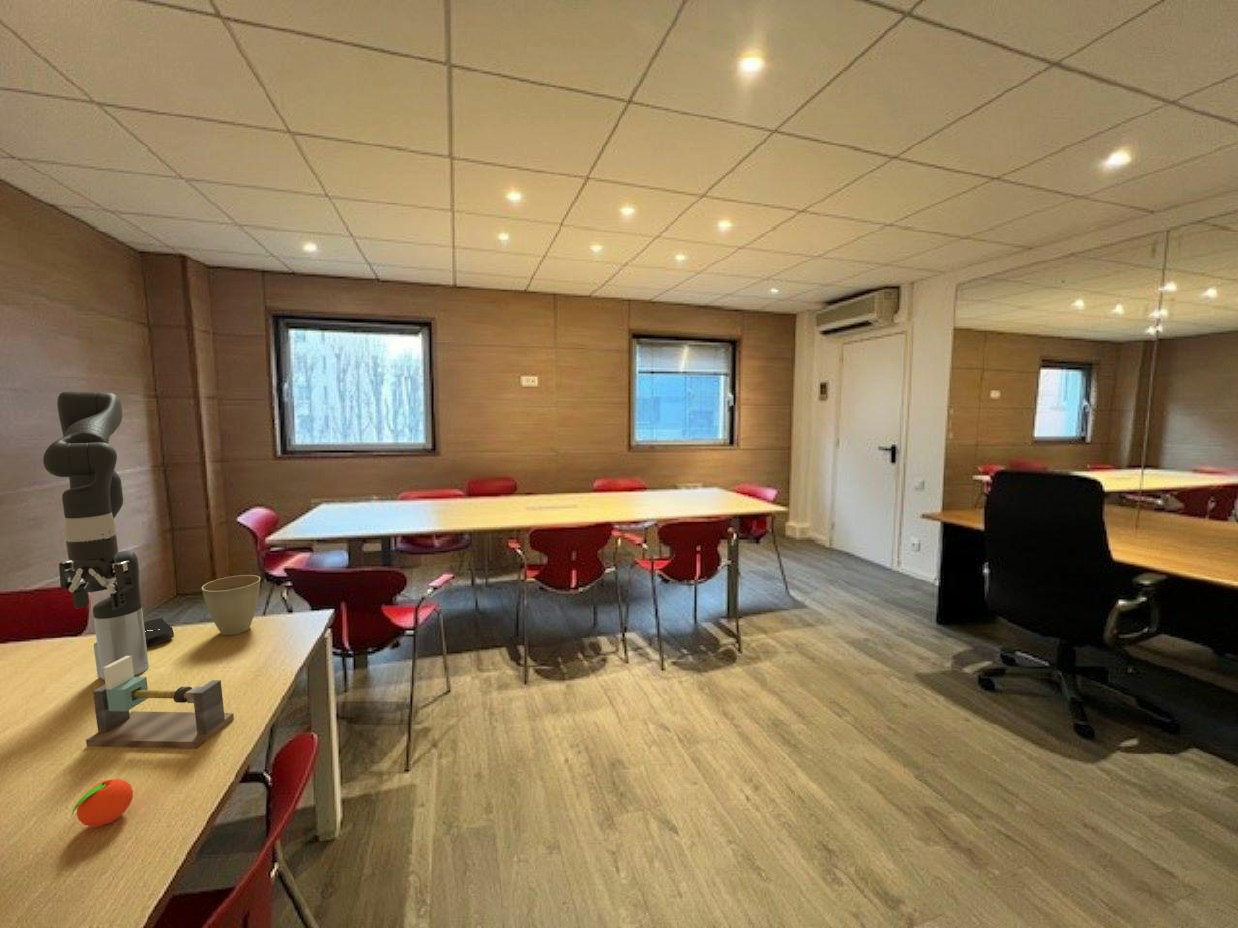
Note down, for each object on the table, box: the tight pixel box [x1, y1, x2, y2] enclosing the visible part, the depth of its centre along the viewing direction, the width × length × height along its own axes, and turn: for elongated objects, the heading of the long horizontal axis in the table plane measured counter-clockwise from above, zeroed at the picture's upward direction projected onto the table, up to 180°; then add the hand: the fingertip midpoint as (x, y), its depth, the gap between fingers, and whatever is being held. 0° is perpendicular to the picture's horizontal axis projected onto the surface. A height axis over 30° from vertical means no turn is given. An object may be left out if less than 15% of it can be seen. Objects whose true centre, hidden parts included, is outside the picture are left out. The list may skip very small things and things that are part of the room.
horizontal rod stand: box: [85, 679, 235, 749], centre depth 112 cm, size 24×10×11 cm, turn 89°
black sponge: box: [144, 617, 175, 648], centre depth 157 cm, size 16×8×4 cm, turn 53°
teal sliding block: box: [103, 656, 149, 711], centre depth 111 cm, size 4×5×10 cm
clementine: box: [70, 778, 134, 828], centre depth 88 cm, size 8×7×7 cm
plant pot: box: [201, 574, 261, 636], centre depth 162 cm, size 15×15×16 cm
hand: (100, 607), depth 111 cm, fingers open, 8 cm apart
